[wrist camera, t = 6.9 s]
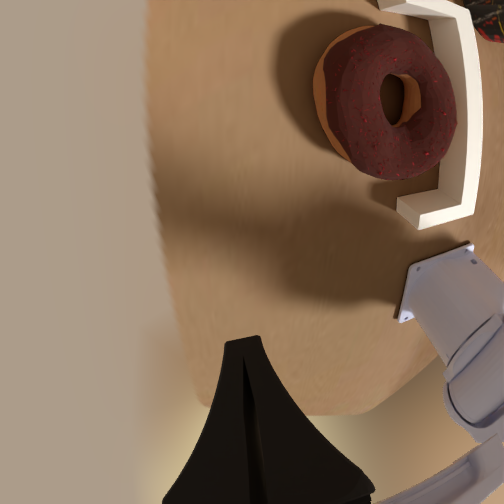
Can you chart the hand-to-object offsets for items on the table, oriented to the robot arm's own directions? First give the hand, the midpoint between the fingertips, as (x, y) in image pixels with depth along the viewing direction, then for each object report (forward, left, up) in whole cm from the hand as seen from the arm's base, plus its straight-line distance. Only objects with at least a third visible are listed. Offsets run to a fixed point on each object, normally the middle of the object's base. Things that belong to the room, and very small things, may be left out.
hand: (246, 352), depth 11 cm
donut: (-11, -8, -10) cm, 17 cm away
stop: (-17, -7, -9) cm, 20 cm away
